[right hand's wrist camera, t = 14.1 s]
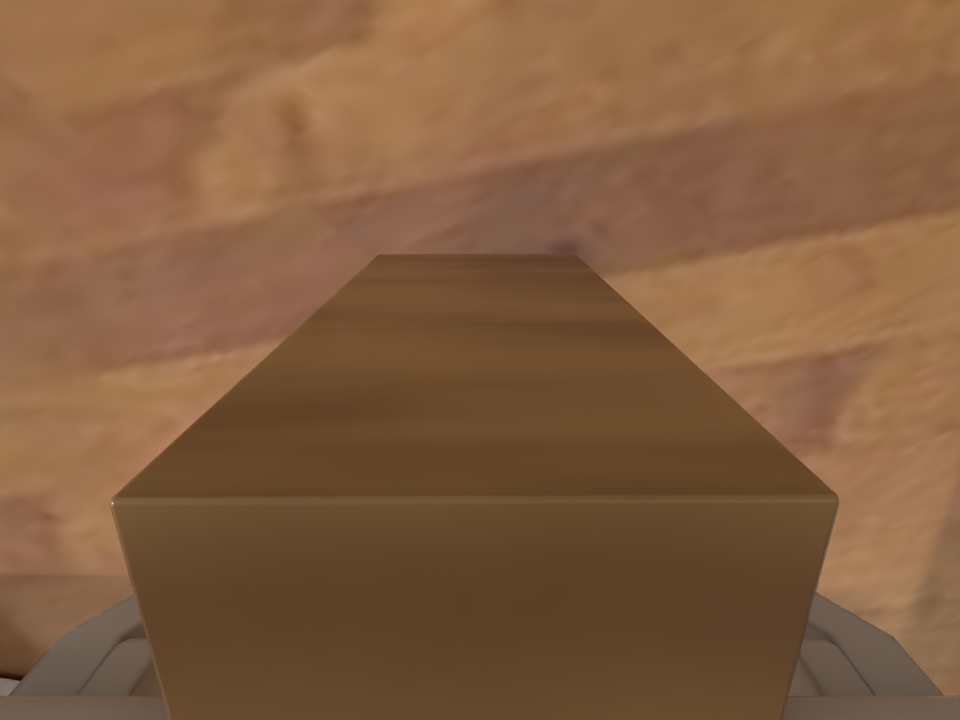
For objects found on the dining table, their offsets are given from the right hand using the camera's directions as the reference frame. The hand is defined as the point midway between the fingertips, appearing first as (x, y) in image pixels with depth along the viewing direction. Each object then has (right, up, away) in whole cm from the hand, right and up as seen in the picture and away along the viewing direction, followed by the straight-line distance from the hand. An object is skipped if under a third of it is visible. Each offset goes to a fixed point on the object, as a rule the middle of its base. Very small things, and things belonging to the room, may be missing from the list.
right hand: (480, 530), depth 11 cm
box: (0, -7, +10) cm, 12 cm away
